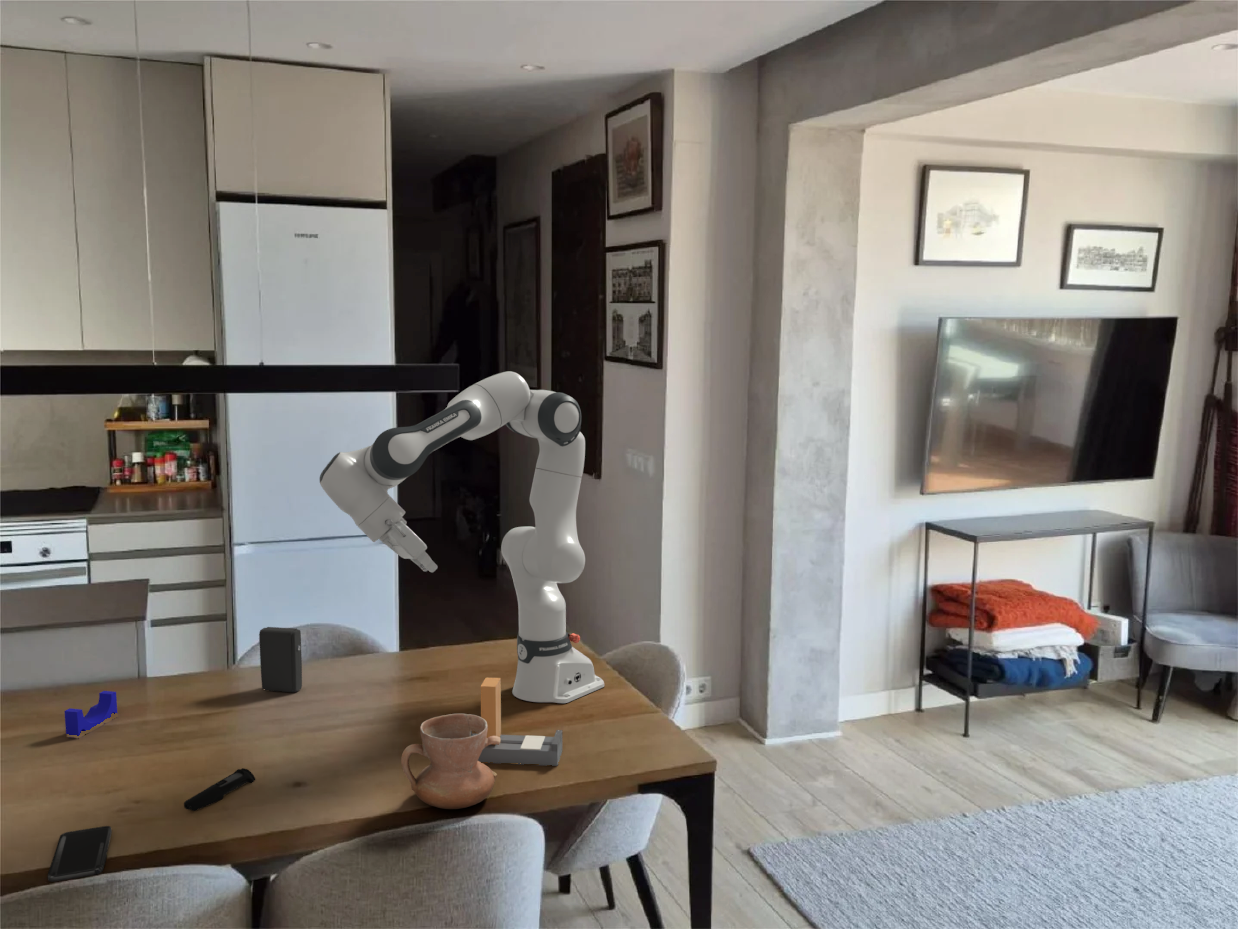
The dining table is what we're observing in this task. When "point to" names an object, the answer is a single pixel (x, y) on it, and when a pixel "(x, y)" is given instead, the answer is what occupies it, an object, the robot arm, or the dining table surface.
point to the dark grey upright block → (280, 659)
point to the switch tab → (491, 705)
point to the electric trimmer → (219, 789)
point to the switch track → (524, 750)
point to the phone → (80, 853)
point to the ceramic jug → (452, 762)
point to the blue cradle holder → (91, 714)
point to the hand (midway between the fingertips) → (431, 569)
